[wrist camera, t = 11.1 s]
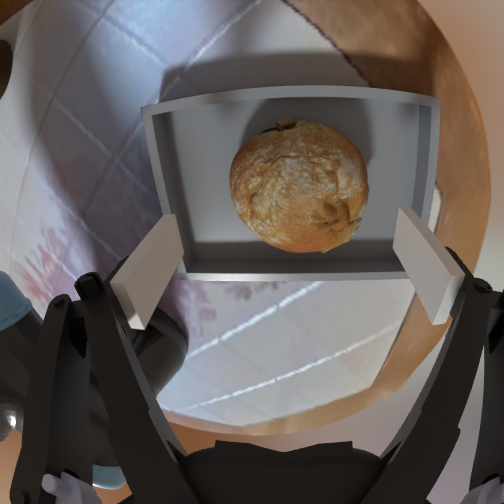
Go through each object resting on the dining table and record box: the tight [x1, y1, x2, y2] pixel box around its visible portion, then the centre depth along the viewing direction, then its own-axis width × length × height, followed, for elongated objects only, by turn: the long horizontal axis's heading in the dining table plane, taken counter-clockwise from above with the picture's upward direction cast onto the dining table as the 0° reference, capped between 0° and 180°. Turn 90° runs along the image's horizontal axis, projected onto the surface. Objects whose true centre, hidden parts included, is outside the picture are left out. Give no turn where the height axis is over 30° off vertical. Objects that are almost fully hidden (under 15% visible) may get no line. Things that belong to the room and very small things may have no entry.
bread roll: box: [229, 117, 370, 254], centre depth 19 cm, size 10×10×8 cm
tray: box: [141, 85, 440, 281], centre depth 21 cm, size 22×16×3 cm
